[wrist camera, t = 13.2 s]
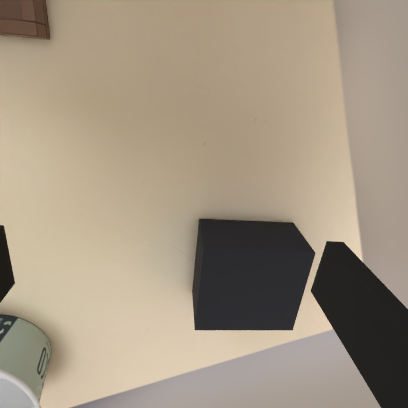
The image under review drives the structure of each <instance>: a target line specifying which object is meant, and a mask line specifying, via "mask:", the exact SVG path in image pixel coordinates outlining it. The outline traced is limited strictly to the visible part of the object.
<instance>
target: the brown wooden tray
mask: <svg viewBox="0 0 408 408" xmlns="http://www.w3.org/2000/svg"><path fill="white" fill-rule="evenodd" d="M0 35H7V36H18V37H28V38H39V39H50V36H49V27H48V19H47V10H46V2H45V0H0Z"/></svg>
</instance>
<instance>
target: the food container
mask: <svg viewBox="0 0 408 408" xmlns="http://www.w3.org/2000/svg"><path fill="white" fill-rule="evenodd" d="M50 355H51V345H50V342H49V340H48V338H47V337H46V335H45V334H44V333H43V332H42V331H41V330H40V329H39V328H37V327H36V326H35V325H33V324H31V323H29V322H27V321H25V320H23V319H20V318H17V317H12V316H7V315H0V408H41V407H40V403H39V402H40V398H41V393H42V389H43V385H44V381H45V376H46V372H47V368H48V364H49V360H50Z"/></svg>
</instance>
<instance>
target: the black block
mask: <svg viewBox="0 0 408 408" xmlns="http://www.w3.org/2000/svg"><path fill="white" fill-rule="evenodd" d="M314 256H315V252H314V250H313V249H312V248H311V246H310V245H309V244H308V242H307V241H306V240H305V238H304V237H303V235H302V234H301V233H300V231H299V230H298V229H297V227H296V226H295V225H294V223H282V222H259V221H236V220H212V219H199V227H198V237H197V248H196V259H195V269H194V280H193V290H192V293H193V308H194V323H195V330H293V327H294V323H295V320H296V317H297V313H298V310H299V307H300V303H301V300H302V296H303V293H304V290H305V286H306V283H307V279H308V276H309V273H310V269H311V266H312V263H313V259H314Z"/></svg>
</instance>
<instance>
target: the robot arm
mask: <svg viewBox="0 0 408 408" xmlns="http://www.w3.org/2000/svg"><path fill="white" fill-rule="evenodd" d="M14 284H15V281H14V276H13V271H12V265H11V260H10V255H9V250H8V245H7V240H6V235H5V230H4V226H3V225H0V302H1V301H2V300H3V298H4V297H5V296H6V294H7V293H8V292H9V290H10V289H11V288H12V286H13V285H14ZM311 292H312V294H313V295H314V297H315V299H316V300H317V302H318V304H319V305H320V307H321V309H322V310H323V312H324V314H325V315H326V317H327V319H328V320H329V322H330V324H331V325H332V327H333V329H334V330H335V332H336V334H337V335H338V337H339V339H340V340H341V342H342V343H343V345H344V347H345V349H346V350H347V352H348V353H349V355H350V357H351V358H352V360H353V362H354V363H355V365H356V367H357V368H358V370H359V372H360V373H361V375H362V376H363V378H364V380H365V382H366V383H367V385H368V387H369V388H370V390H371V391H372V393H373V395H374V396H375V398H376V400H377V402H378V403H379V405H380V406H381V408H408V309H407V308H406V307H405V306H404V305H403V304H402V303H401V302H400V301H399V300H398V299H397V298H396V297H395V296H394V294H393V293H392V292H391V291H390V290H389V289H388V288H387V287H386V286H385V285H384V284H383V283H382V282H381V281H380V280H379V279H378V278H377V277H376V276H375V275H374V274H373V273H372V272H371V270H370V269H369V268H368V267H366V265H365V264H364V263H363V262H362V261H361V260H360V259H359V258H358V257H357V256H356V255H355V254H354V253H353V252H352V251H351V250H350V249H349V248H348V247H347V245H346V244H345V243H344V242H331V241H327V242H326V246H325V249H324V252H323V255H322V258H321V261H320V264H319V267H318V270H317V273H316V276H315V280H314V283H313V286H312V289H311Z"/></svg>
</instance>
